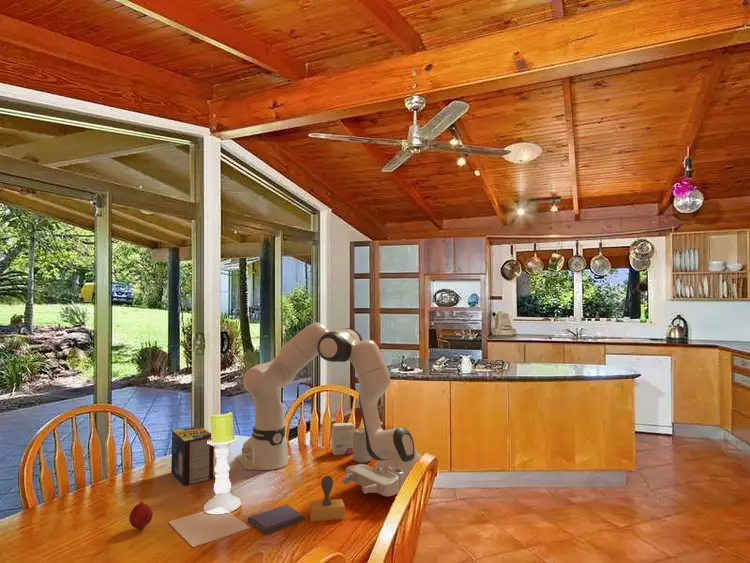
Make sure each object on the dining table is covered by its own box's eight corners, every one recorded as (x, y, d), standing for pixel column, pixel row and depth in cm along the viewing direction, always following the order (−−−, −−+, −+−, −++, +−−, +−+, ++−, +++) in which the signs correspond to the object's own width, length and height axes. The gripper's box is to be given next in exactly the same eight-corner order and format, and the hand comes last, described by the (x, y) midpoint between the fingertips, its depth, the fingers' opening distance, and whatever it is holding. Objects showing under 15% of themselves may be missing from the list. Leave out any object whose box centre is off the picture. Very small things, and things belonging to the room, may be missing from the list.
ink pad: (247, 521, 141) (247, 516, 141) (286, 508, 150) (286, 503, 150) (265, 534, 134) (265, 529, 134) (304, 520, 143) (304, 515, 143)
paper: (167, 522, 140) (167, 521, 140) (221, 506, 151) (221, 505, 151) (193, 548, 127) (193, 547, 127) (249, 528, 137) (249, 527, 137)
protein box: (199, 466, 184) (200, 425, 184) (213, 479, 172) (214, 435, 172) (170, 472, 178) (171, 429, 178) (183, 486, 166) (184, 440, 166)
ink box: (351, 450, 206) (352, 421, 206) (354, 454, 201) (354, 425, 201) (331, 451, 204) (332, 422, 204) (333, 455, 199) (334, 426, 199)
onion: (127, 535, 132) (127, 506, 132) (131, 525, 138) (132, 497, 138) (150, 533, 134) (151, 503, 134) (153, 523, 140) (154, 495, 140)
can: (369, 464, 189) (369, 433, 189) (350, 462, 190) (350, 431, 191) (373, 458, 196) (373, 428, 197) (355, 456, 198) (355, 426, 198)
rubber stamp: (311, 522, 142) (311, 480, 142) (309, 513, 147) (309, 473, 148) (344, 519, 144) (345, 478, 144) (341, 510, 150) (342, 471, 150)
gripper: (364, 456, 170) (332, 465, 160) (407, 473, 155) (375, 485, 145) (364, 475, 170) (332, 485, 160) (407, 493, 155) (374, 506, 145)
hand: (353, 485), depth 153 cm, fingers open, 8 cm apart
